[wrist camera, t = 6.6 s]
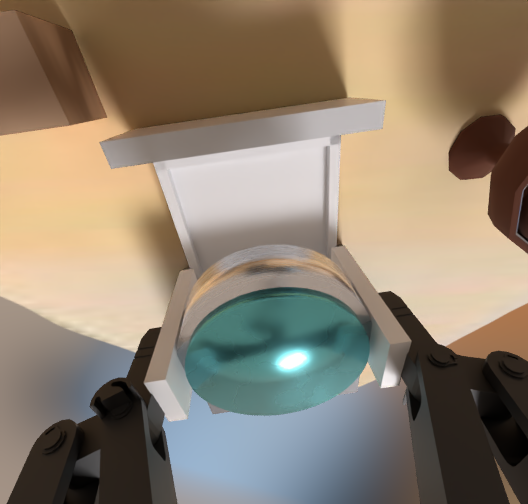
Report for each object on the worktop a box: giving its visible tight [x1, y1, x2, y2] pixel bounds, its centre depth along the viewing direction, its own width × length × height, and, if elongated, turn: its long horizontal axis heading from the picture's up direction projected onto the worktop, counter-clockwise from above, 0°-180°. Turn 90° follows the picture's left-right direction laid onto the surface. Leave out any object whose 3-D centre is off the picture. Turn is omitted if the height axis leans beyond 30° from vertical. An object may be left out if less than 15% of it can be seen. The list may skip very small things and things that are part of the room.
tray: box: [99, 98, 386, 280], centre depth 21 cm, size 16×17×6 cm
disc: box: [177, 244, 372, 415], centre depth 11 cm, size 8×8×3 cm
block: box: [0, 10, 107, 136], centre depth 16 cm, size 5×5×5 cm
